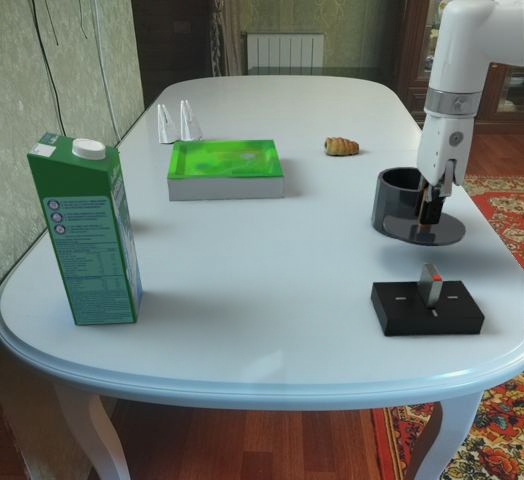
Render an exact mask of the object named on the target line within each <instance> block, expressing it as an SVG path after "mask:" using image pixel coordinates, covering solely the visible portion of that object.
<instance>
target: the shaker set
mask: <svg viewBox="0 0 524 480" xmlns="http://www.w3.org/2000/svg"><path fill="white" fill-rule="evenodd" d="M157 128H158V144H159V145H160V144H170V143H174V142H177V140H180V139H181V142H184V141H201V138H202V137H203V135H204V133H203V131H202V129H201V126H200V124H199V122H198V119H197V117H196V115H195V113H194V110H193V109H192V106H191V104H190V103H189V101H188V100H187V99H186V100H181V101H180V133H179V131H178V130H177V127H176V125H175V123H174V120H173V118H172V117H171V115H170V112H169V111H168V109H167V106H166V105H165V104H162V106H161V104H158V105H157ZM180 135H181V136H180Z"/></svg>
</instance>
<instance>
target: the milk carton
mask: <svg viewBox="0 0 524 480" xmlns="http://www.w3.org/2000/svg"><path fill="white" fill-rule="evenodd" d="M26 160H27V163H28V166H29V169H30V173H31V176H32V180H33V183H34V187H35V190H36V194H37V197H38V200H39V204H40V208H41V211H42V215H43V218H44V221H45V222H44V223H45V225H46V228H47V232H48V236H49V239H50V242H51V246H52V249H53V252H54V256H55V261H56V263H57V266H58V270H59V274H60V277H61V281H62V285H63V287H64V291H65V295H66V297H67V302H68V306H69V308H70V312H71V316H72V319H73V323H74V325H75V326H79V325H80V326H84V325H105V324H125V323H126V324H127V323H128V324H129V323H137V320H138V315H139V311H140V310H139V309H140V305H141V301H142V295H143V285H142V284H143V283H142V279H141V272H140V269H139V261H138V256H137V250H136V245H135V238H134V233H133V232H134V231H133V227H132V222H131V216H130V215H131V214H130V210H129V204H128V199H127V192H126V188H125V187H126V186H125V182H124V181H125V180H124V176H123V169H122V164H121V158H120V153H119V148H118V147H115V146H110V145H106V144H103V143H102V142H100V141H97V140H96V139H95V140H94V139H90V138H89V139H88V138H74V137H71V136H66V135H61V134H57V133H52V132H47V131H46V132H45V133H44V134H43V135H42V136H41V138H39V140H38V141H37V142H36V143H35V144H34V145H33V147H32V148H31V149H30V150H29V151H28V152H27V154H26Z"/></svg>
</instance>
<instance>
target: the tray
mask: <svg viewBox="0 0 524 480" xmlns="http://www.w3.org/2000/svg"><path fill="white" fill-rule="evenodd" d="M171 150H172V151H171V156H170V160H169V161H170V162H169V165H168V170H167V177H166V183H167V190H168V199H169V202H175V201H176V202H177V201H178V202H179V201H180V202H181V201H182V202H183V201H211V200H212V201H214V200H248V199H249V200H250V199H279V198H281V199H282V198H283V199H284V183H285V182H284V181H285V174H284V172H283V171H284V170H283V168H282V164H281V161H280V157H279V154H278V151H277V148H276V143H275V141H274V139H240V140H239V139H237V140H235V139H234V140H199V141H174V142H173V146H172V149H171Z"/></svg>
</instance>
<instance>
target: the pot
mask: <svg viewBox="0 0 524 480" xmlns="http://www.w3.org/2000/svg"><path fill="white" fill-rule="evenodd" d="M420 175H421V172H420V171H419V169H418V168H417V167H415V166H395V167H390V168H385V169H384V170H382V171H380V172H379V173H378V175H377V179H376V185H375V192H374V198H373V199H374V200H373V205H372V213H371V218H370V219H371V220H370V222H371V226H372V228H373V229H374V230H375V231H376V232H378V233H379V234H381V235H383V236H385V237H389V238H393V239H397V238H395V237H393V236H392V235H390V234H389V233H388V232H387V231H386V230H385V228H384V224H383V223H384V219H385V217H386V216H387V215H388V214H390V213H392V212H394V211H397V210H401V209H410V208H415V205H416V200H417V196H418V193H421V192H419V190H418V188H419V183H420V178H421V177H420ZM439 181H442V180H439ZM440 188H441V187H437V189H440ZM397 240H398V239H397Z"/></svg>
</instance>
